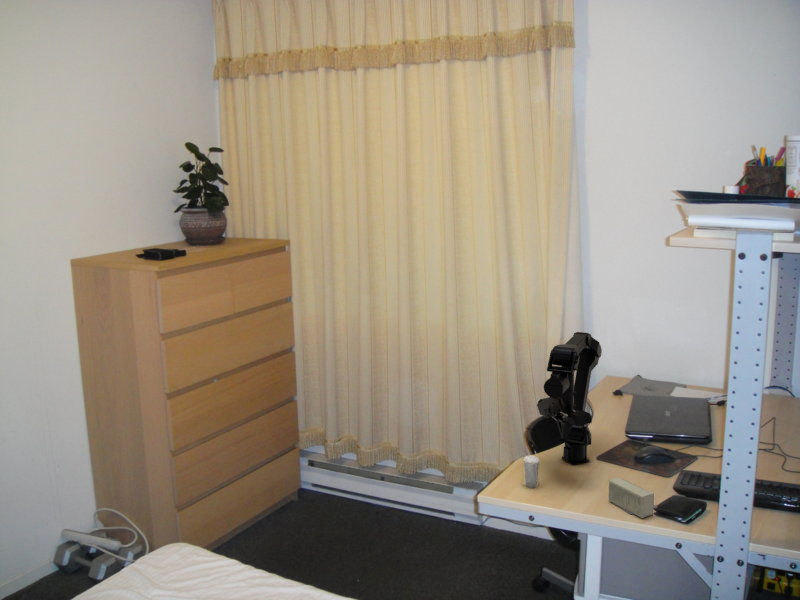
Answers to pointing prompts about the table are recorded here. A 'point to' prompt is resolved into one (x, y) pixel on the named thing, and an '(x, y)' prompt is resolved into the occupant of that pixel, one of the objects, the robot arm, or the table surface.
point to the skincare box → (631, 497)
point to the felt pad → (629, 511)
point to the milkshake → (531, 470)
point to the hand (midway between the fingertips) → (563, 438)
